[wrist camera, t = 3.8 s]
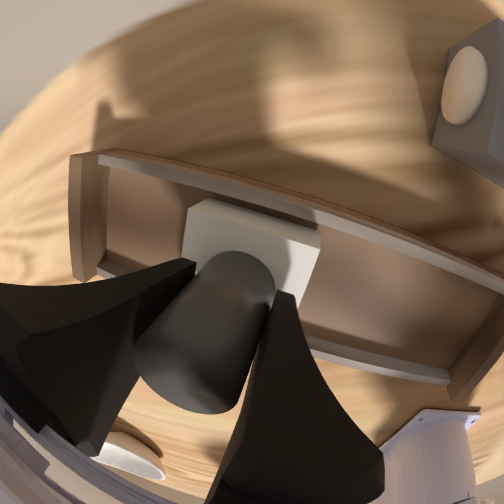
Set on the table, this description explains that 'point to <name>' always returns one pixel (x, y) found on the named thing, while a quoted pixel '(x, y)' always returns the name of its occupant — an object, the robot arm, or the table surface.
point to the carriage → (223, 304)
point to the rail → (324, 272)
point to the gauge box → (475, 103)
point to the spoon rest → (130, 456)
